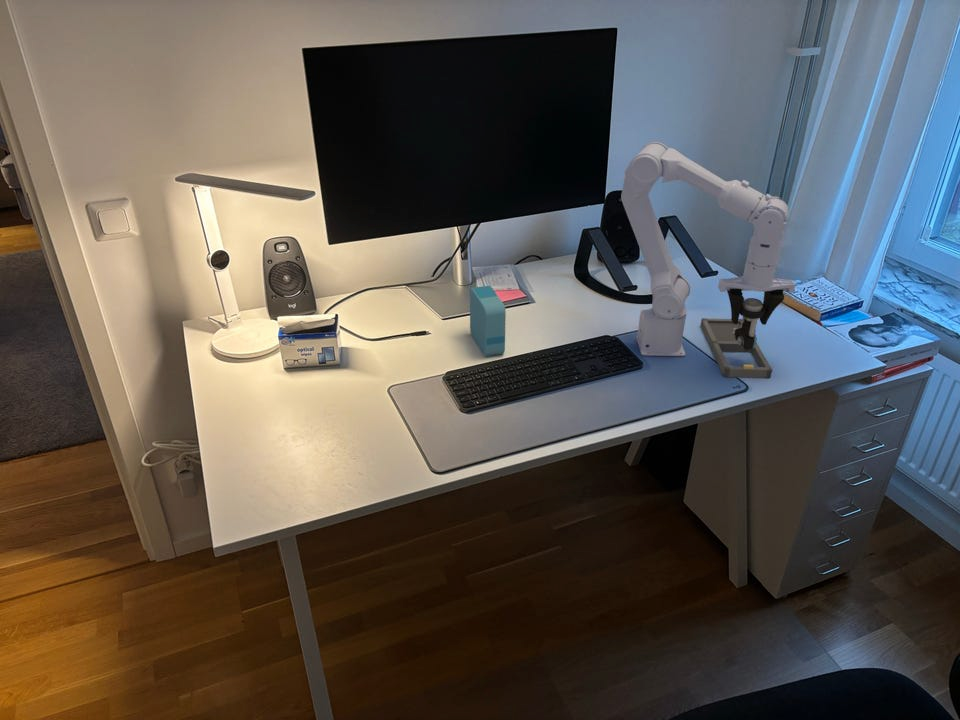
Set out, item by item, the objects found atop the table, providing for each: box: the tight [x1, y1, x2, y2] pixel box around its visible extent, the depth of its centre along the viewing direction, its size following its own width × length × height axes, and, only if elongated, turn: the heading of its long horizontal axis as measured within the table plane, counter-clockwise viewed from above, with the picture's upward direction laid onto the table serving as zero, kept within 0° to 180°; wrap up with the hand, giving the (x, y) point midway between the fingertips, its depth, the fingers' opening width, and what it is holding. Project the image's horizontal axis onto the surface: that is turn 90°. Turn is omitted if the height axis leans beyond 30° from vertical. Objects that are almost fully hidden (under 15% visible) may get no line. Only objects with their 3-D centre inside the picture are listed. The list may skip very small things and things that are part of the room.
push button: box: [733, 297, 766, 350], centre depth 152 cm, size 7×5×10 cm
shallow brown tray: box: [700, 317, 773, 379], centre depth 160 cm, size 10×22×3 cm, turn 178°
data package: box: [469, 285, 507, 357], centre depth 160 cm, size 12×4×12 cm, turn 17°
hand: (748, 322), depth 151 cm, fingers closed on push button, 5 cm apart
